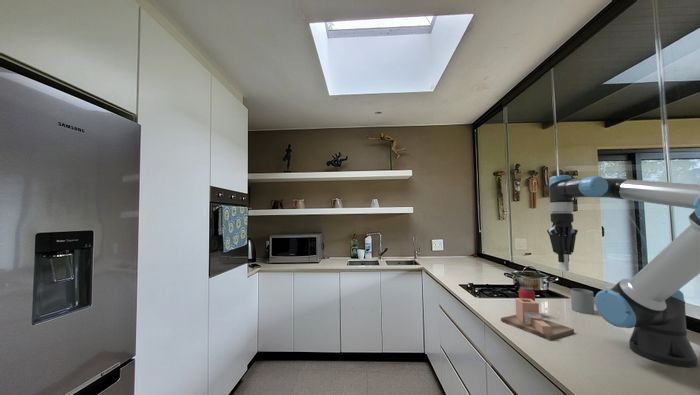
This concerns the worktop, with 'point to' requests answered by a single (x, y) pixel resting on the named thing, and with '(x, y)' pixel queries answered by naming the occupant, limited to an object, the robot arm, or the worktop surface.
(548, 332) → the link
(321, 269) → the worktop surface
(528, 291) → the beer can
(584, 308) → the cup
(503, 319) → the board
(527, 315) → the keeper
